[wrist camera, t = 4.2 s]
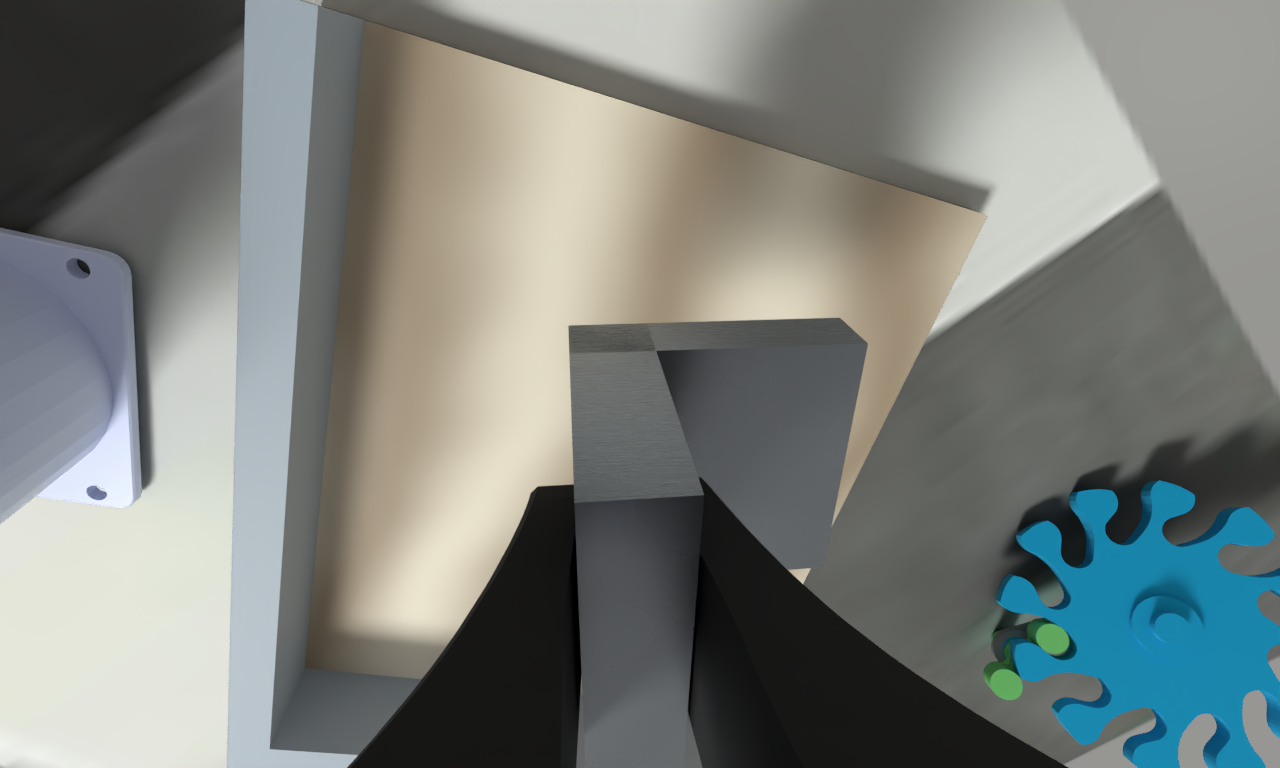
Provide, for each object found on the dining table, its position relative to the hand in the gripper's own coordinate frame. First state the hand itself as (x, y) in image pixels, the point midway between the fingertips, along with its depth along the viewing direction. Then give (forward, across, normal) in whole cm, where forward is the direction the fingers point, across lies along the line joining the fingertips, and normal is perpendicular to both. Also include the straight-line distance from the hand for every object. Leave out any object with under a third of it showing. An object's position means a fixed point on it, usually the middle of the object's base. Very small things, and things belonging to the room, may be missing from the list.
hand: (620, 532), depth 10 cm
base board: (+10, 0, +5) cm, 11 cm away
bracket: (+3, -2, 0) cm, 3 cm away
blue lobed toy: (+10, -19, +11) cm, 24 cm away
